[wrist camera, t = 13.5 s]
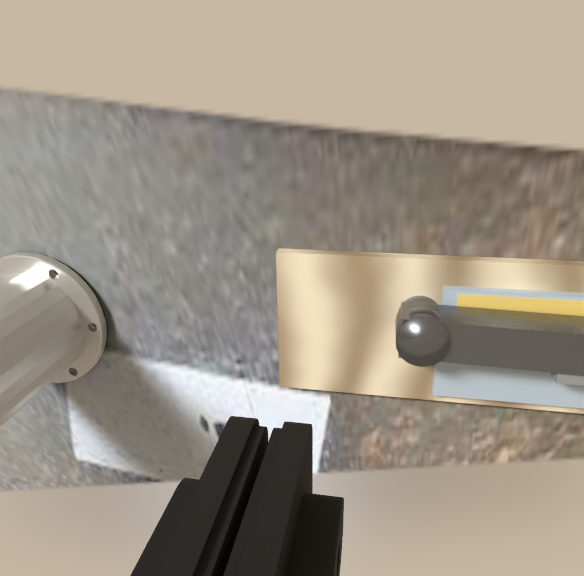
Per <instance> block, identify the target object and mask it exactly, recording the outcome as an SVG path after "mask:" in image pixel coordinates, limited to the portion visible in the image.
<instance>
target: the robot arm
mask: <svg viewBox="0 0 584 576" xmlns="http://www.w3.org/2000/svg"><path fill="white" fill-rule="evenodd" d="M106 338H107V329H106V320H105V317H104V314H103V311H102V308H101V306H100V304H99V302H98V300H97V298H96V296H95V294H94V293H93V292H92V290H91V289H90V287H89V286H88V285H87V283H86V282H85V281H84V280H83V279H82V278H81V277H80V276H79V275H78V274H77V273H75V272H74V271H73V270H71V269H70V268H69V267H67V266H66V265H64V264H62V263H60V262H59V261H57V260H55V259H53V258H50V257H47V256H44V255H41V254H36V253H29V252H23V253H13V254H10V255H6V256H3V257H1V258H0V427H1V426H2V425H3V424H4V423H5V422H6V421H7V420H8V419H10V418H11V417H12V416H13V415H14V414H15V413H16V412H17V411H19V410H20V409H21V408H22V407H23V406H24V405H25V404H26V403H28V402H29V401H30V400H31V399H32V398H33V397H34V396H36V395H37V394H38V393H39V392H40V391H41V390H42V389H43V388H45V387H46V386H47V385H48V384H49V383H64V382H70V381H73V380H75V379H78V378H80V377H82V376H83V375H85V374H86V373H87V372H88V371H90V370H91V369H92V368H93V367H94V366H95V365H96V364H97V362H98V361H99V359H100V358H101V356H102V354H103V352H104V348H105V345H106ZM343 510H344V499H343V498H342V497H334V496H326V495H317V494H312V425H311V424H305V423H295V422H284V424H283V427H282V429H281V428H274V429H273V431H272V434H271V437H270V439H269V442H268V430H267V427H262V426H259V421H258V419H255V418H245V417H235V416H231V417H230V418H229V420H228V421H227V423H226V426H225V428H224V430H223V432H222V434H221V436H220V438H219V440H218V442H217V444H216V446H215V448H214V451H213V453H212V455H211V457H210V459H209V461H208V463H207V465H206V467H205V469H204V471H203V473H202V476H201V478H200V480H198V479H190V478H184V479H183V480H182V481H181V482H180V483H179V485H178V486H177V488H176V490H175V492H174V494H173V496H172V498H171V500H170V502H169V504H168V505H167V507H166V509H165V511H164V513H163V515H162V517H161V519H160V521H159V522H158V524H157V526H156V528H155V530H154V532H153V534H152V536H151V538H150V540H149V542H148V543H147V545H146V547H145V549H144V551H143V553H142V555H141V557H140V559H139V561H138V563H137V565H136V566H135V568H134V570H133V572H132V574H131V576H339V574H340V563H341V550H342V536H343Z"/></svg>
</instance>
